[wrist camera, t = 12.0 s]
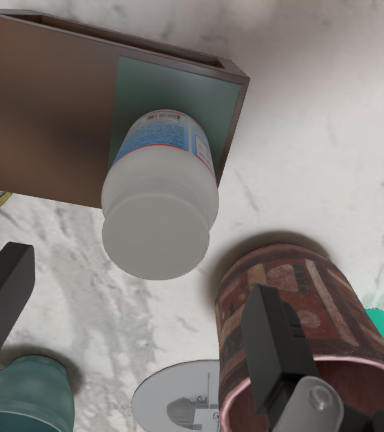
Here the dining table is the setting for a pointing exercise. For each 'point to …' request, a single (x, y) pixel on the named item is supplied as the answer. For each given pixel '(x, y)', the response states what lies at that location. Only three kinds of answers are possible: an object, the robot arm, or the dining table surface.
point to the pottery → (311, 324)
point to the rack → (97, 101)
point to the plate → (180, 399)
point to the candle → (377, 319)
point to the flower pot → (35, 396)
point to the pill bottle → (160, 197)
